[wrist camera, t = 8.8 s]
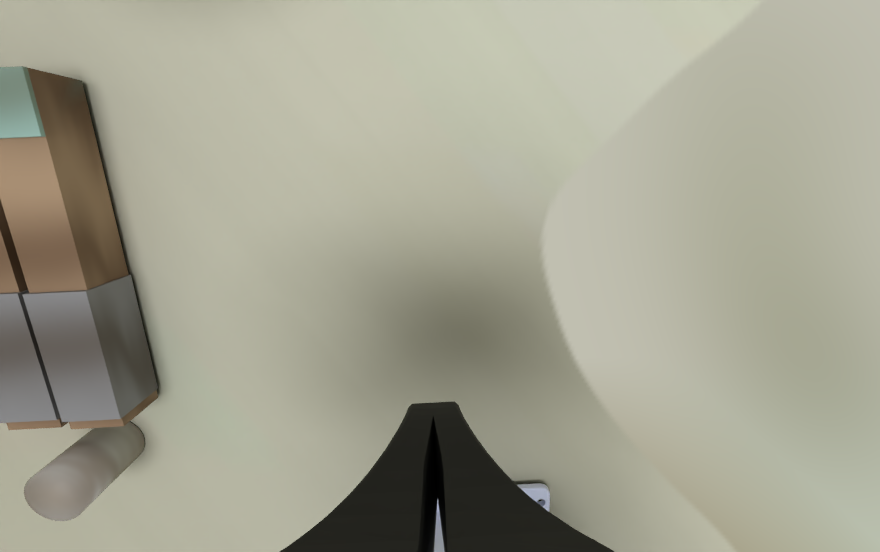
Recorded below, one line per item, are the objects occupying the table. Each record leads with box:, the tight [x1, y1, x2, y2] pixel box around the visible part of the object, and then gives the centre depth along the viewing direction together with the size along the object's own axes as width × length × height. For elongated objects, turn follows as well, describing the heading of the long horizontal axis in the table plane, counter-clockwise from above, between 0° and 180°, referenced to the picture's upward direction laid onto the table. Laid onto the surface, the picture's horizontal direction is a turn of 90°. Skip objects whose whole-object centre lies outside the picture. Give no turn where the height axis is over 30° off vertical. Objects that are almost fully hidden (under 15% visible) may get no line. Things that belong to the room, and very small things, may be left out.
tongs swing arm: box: [0, 66, 158, 429], centre depth 18 cm, size 15×3×3 cm, turn 3°
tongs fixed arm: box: [0, 199, 145, 521], centre depth 18 cm, size 19×4×4 cm, turn 2°
